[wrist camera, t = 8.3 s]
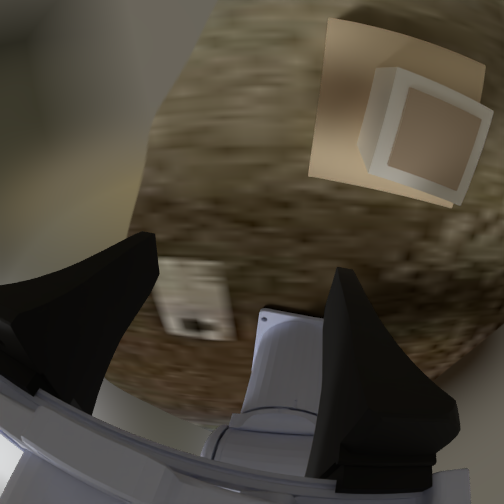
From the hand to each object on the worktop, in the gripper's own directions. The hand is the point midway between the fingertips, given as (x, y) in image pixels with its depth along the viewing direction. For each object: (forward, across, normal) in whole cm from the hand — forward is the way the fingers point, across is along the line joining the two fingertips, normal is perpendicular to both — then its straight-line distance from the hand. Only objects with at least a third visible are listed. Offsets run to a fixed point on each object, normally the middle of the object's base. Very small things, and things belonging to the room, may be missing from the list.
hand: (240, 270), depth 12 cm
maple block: (+10, -6, -6) cm, 14 cm away
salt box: (+7, -7, -6) cm, 12 cm away
